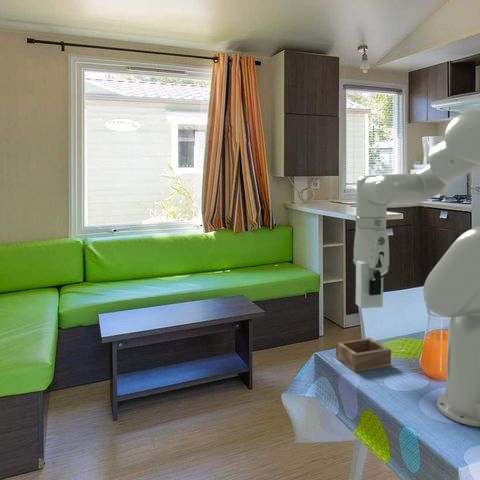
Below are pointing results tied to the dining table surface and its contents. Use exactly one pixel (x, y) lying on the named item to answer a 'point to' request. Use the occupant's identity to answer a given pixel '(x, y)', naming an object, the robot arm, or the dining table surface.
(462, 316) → the robot arm
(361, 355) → the small open wooden box
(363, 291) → the skincare box
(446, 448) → the dining table surface
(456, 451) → the dining table surface
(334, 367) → the dining table surface
